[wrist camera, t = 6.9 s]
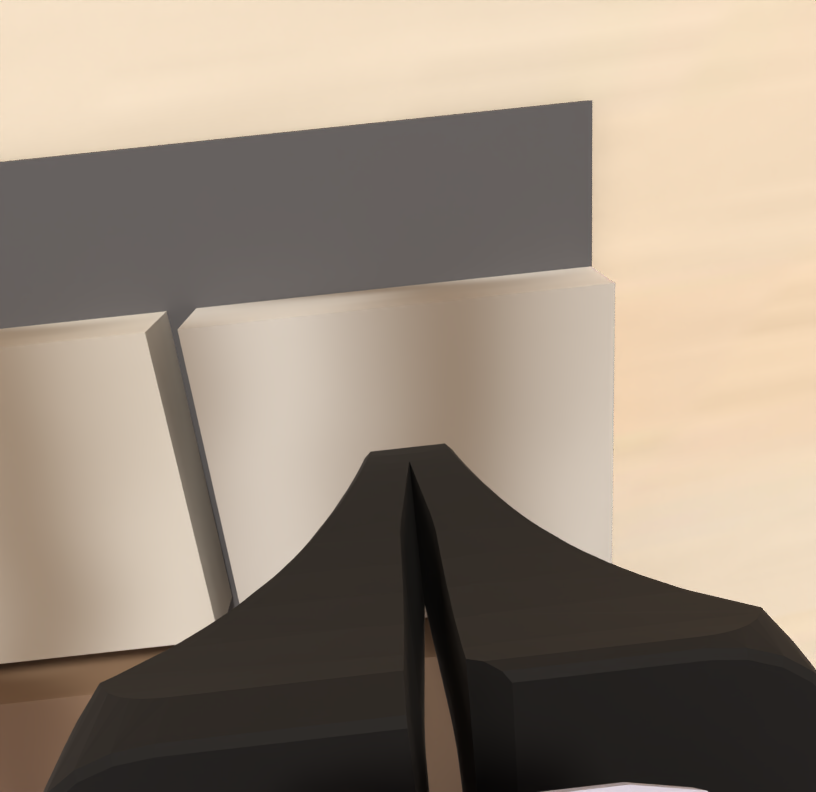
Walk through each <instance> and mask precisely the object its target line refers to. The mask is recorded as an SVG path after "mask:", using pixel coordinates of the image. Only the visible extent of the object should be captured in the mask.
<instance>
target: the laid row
mask: <svg viewBox="0 0 816 792" xmlns="http://www.w3.org/2000/svg"><path fill="white" fill-rule="evenodd" d="M173 646H175V645H168V646H159V647H150V648H141V649H131V650H122V651H113V652H104V653H95V654H86V655H77V656H67V657H58V658H49V659H40V660H31V661H22V662H13V663H3V664H0V792H43V791H44V789H45V787H46V784H47V782H48V780H49V778H50V776H51V774H52V772H53V770H54V767H55V765H56V763H57V761H58V759H59V757H60V755H61V752H62V750H63V748H64V746H65V744H66V742H67V740H68V738H69V736H70V734H71V732H72V730H73V728H74V726H75V724H76V722H77V721H78V719H79V717H80V716H81V714H82V712H83V710H84V709H85V707H86V705H87V704H88V702H89V700H90V699H91V697H92V695H93V694H94V692H95V690H96V688H97V687H98V685H99V683H101V682H103V681H105V680H107V679H110V678H112V677H114V676H116V675H118V674H120V673H122V672H124V671H126V670H128V669H130V668H132V667H134V666H136V665H138V664H140V663H142V662H144V661H146V660H148V659H150V658H152V657H154V656H156V655H158V654H160V653H162V652H164V651H166V650H168V649H169V648H171V647H173ZM425 746H426V760H427V771H428V781H429V792H462V784H461V776H460V769H459V761H458V754H457V747H456V742H455V736H454V731H453V726H452V720H451V716H450V712H449V707H448V703H447V699H446V695H445V690H444V686H443V682H442V677H441V673H440V669H439V664H438V660H437V656H436V651H435V647H434V643H433V638H432V634H431V630H430V625H429V621H428V617H426V618H425Z"/></svg>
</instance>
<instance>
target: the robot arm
mask: <svg viewBox="0 0 816 792" xmlns="http://www.w3.org/2000/svg"><path fill="white" fill-rule="evenodd" d="M425 608H426V612H427V617H428V621H429V625H430V630H431V634H432V638H433V643H434V647H435V651H436V656H437V660H438V664H439V669H440V673H441V677H442V682H443V686H444V690H445V695H446V699H447V703H448V707H449V712H450V716H451V720H452V726H453V731H454V736H455V742H456V747H457V754H458V761H459V769H460V776H461V784H462V792H816V670H815V668H814V667H813V666H812V664H811V663H810V662H809V660H808V659H807V658H806V657H805V655H804V654H803V653H802V652H801V651H800V649H799V648H798V647H797V646H796V644H795V643H794V642H793V641H792V640H791V639H790V638H789V637H788V635H787V634H786V633H785V632H784V631H783V630H782V629H781V628H780V627H779V626H778V625H777V624H776V623H775V622H774V621H773V620H772V619H771V617H770V616H769V615H768V614H767V613H766V612H765V611H764V610H763V609H762V608H761V607H757V606H753V605H749V604H744V603H740V602H736V601H732V600H727V599H723V598H719V597H715V596H710V595H706V594H702V593H698V592H693V591H689V590H686V589H682V588H679V587H676V586H673V585H669V584H666V583H663V582H660V581H657V580H654V579H651V578H648V577H645V576H642V575H639V574H637V573H634V572H631V571H629V570H626V569H623V568H621V567H618V566H616V565H613V564H611V563H609V562H607V561H604V560H602V559H600V558H598V557H596V556H593V555H591V554H589V553H587V552H584V551H582V550H580V549H578V548H576V547H574V546H572V545H570V544H569V543H567V542H565V541H563V540H561V539H560V538H558V537H556V536H555V535H553V534H551V533H549V532H548V531H546V530H544V529H543V528H541V527H539V526H538V525H536V524H535V523H533V522H532V521H530V520H529V519H527V518H526V517H524V516H523V515H522V514H520V513H519V512H517V511H516V510H515V509H513V508H512V507H511V506H510V505H508V504H507V503H506V502H505V501H504V500H502V499H501V498H500V497H499V496H498V495H497V494H496V493H494V492H493V491H492V490H491V489H490V488H489V487H488V486H487V485H486V484H484V483H483V482H482V481H481V480H480V479H479V478H478V477H477V476H476V475H475V474H474V473H473V472H472V471H471V470H470V469H469V468H468V467H467V466H466V465H465V464H464V463H463V461H462V460H461V459H460V458H459V457H458V456H457V455H456V453H455V452H454V451H453V450H452V449H451V448H450V447H449V446H448V445H446V444H445V443H443V444H434V445H425V446H416V447H407V448H398V449H389V450H380V451H371V452H370V453H369V454H368V455H367V456H366V457H365V458H364V460H363V463H362V465H361V467H360V469H359V470H358V472H357V474H356V476H355V478H354V479H353V481H352V483H351V484H350V486H349V488H348V489H347V491H346V492H345V494H344V495H343V497H342V498H341V500H340V501H339V503H338V504H337V506H336V507H335V509H334V510H333V512H332V513H331V514H330V516H329V517H328V518H327V520H326V521H325V522H324V523H323V525H322V526H321V527H320V528H319V530H318V531H317V532H316V533H315V535H314V536H313V537H312V538H311V540H310V541H309V542H308V543H307V544H306V546H305V547H304V548H303V549H302V550H301V551H300V552H299V553H298V554H297V555H296V556H295V557H294V558H293V559H292V560H291V561H290V562H289V563H288V564H287V565H286V566H285V567H284V568H283V569H282V570H281V571H280V572H279V573H277V574H276V575H275V576H274V577H273V578H272V579H270V580H269V581H268V582H267V583H265V584H264V585H263V586H261V587H260V588H259V589H258V590H256V591H255V592H254V593H253V594H251V595H250V596H249V597H248V598H246V599H245V600H244V601H243V602H241V603H240V604H239V605H237V606H236V607H235V608H233V609H232V610H231V611H229V612H228V613H226V614H225V615H223V616H222V617H220V618H219V619H217V620H216V621H214V622H213V623H211V624H210V625H208V626H206V627H205V628H203V629H202V630H200V631H198V632H197V633H195V634H193V635H192V636H190V637H188V638H187V639H185V640H183V641H182V642H180V643H178V644H176V645H175V646H173V647H171V648H169V649H168V650H166V651H164V652H162V653H160V654H158V655H156V656H154V657H152V658H150V659H148V660H146V661H144V662H142V663H140V664H138V665H136V666H134V667H132V668H130V669H128V670H126V671H124V672H122V673H120V674H118V675H116V676H114V677H112V678H110V679H107V680H105V681H103V682H101V683H99V685H98V687H97V688H96V690H95V692H94V694H93V695H92V697H91V699H90V700H89V702H88V704H87V705H86V707H85V709H84V710H83V712H82V714H81V716H80V717H79V719H78V721H77V722H76V724H75V726H74V728H73V730H72V732H71V734H70V736H69V738H68V740H67V742H66V744H65V746H64V748H63V750H62V752H61V755H60V757H59V759H58V761H57V763H56V765H55V767H54V770H53V772H52V774H51V776H50V778H49V780H48V782H47V784H46V787H45V789H44V791H43V792H429V781H428V771H427V760H426V746H425Z"/></svg>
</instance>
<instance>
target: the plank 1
mask: <svg viewBox="0 0 816 792" xmlns="http://www.w3.org/2000/svg"><path fill="white" fill-rule="evenodd" d="M231 599H232V594H231V589H230V585H229V581H228V576H227V572H226V568H225V563H224V559H223V554H222V550H221V546H220V541H219V537H218V533H217V528H216V524H215V519H214V515H213V511H212V506H211V502H210V498H209V493H208V489H207V485H206V480H205V476H204V471H203V467H202V463H201V458H200V454H199V450H198V445H197V441H196V436H195V432H194V428H193V423H192V419H191V415H190V410H189V406H188V401H187V397H186V393H185V388H184V384H183V380H182V375H181V371H180V366H179V362H178V358H177V353H176V349H175V345H174V340H173V336H172V332H171V328H170V323H169V319H168V315H167V311H164V312H155V313H145V314H136V315H127V316H117V317H108V318H98V319H89V320H79V321H70V322H61V323H51V324H42V325H32V326H23V327H14V328H4V329H0V664H3V663H13V662H22V661H31V660H40V659H49V658H58V657H67V656H77V655H86V654H95V653H104V652H113V651H122V650H131V649H141V648H150V647H159V646H168V645H176V644H178V643H180V642H182V641H183V640H185V639H187V638H188V637H190V636H192V635H193V634H195V633H197V632H198V631H200V630H202V629H203V628H205V627H206V626H208V625H210V624H211V623H213V622H214V621H216V620H217V619H219V618H220V617H222V616H223V615H225V614H226V613H228V609H229V606H230V602H231Z"/></svg>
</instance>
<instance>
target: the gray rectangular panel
mask: <svg viewBox="0 0 816 792" xmlns="http://www.w3.org/2000/svg"><path fill="white" fill-rule="evenodd" d="M589 266H592V101H578V102H569V103H559V104H550V105H540V106H531V107H521V108H511V109H502V110H492V111H483V112H473V113H464V114H454V115H445V116H435V117H425V118H416V119H406V120H397V121H387V122H378V123H368V124H358V125H349V126H339V127H330V128H320V129H311V130H301V131H292V132H282V133H272V134H263V135H253V136H244V137H234V138H225V139H215V140H205V141H196V142H186V143H177V144H167V145H158V146H148V147H139V148H129V149H119V150H110V151H100V152H91V153H81V154H72V155H62V156H52V157H43V158H33V159H24V160H14V161H5V162H0V329H4V328H14V327H23V326H32V325H42V324H51V323H61V322H70V321H79V320H89V319H98V318H108V317H117V316H127V315H136V314H145V313H155V312H164V311H167V315H168V319H169V323H170V328H171V332H172V336H173V340H174V345H175V349H176V353H177V358H178V362H179V366H180V371H181V375H182V380H183V384H184V388H185V393H186V397H187V401H188V406H189V410H190V415H191V419H192V423H193V428H194V432H195V436H196V441H197V445H198V450H199V454H200V458H201V463H202V467H203V471H204V476H205V480H206V485H207V489H208V493H209V498H210V502H211V506H212V511H213V515H214V519H215V524H216V528H217V533H218V537H219V541H220V546H221V550H222V554H223V559H224V563H225V568H226V572H227V576H228V581H229V585H230V589H231V594H232V599H231V602H230V606H229V609H228V612H229V611H231V610H232V609H233V608H235V607H236V606H237V605H239V599H238V595H237V590H236V586H235V581H234V577H233V573H232V568H231V564H230V559H229V555H228V551H227V546H226V542H225V537H224V533H223V528H222V524H221V520H220V515H219V511H218V506H217V502H216V498H215V493H214V489H213V484H212V480H211V475H210V471H209V467H208V462H207V458H206V453H205V449H204V444H203V440H202V436H201V431H200V427H199V422H198V418H197V414H196V409H195V405H194V400H193V396H192V391H191V387H190V383H189V378H188V374H187V369H186V365H185V361H184V356H183V352H182V347H181V343H180V338H179V334H178V330H177V329H178V328H179V327H180V326H181V325H182V324H183V323H184V322H185V320H186V319H187V318H188V317H189V316H190V315H191V314H192V313H193V311H194V310H195V309H196V308H203V307H212V306H222V305H231V304H241V303H250V302H259V301H269V300H278V299H288V298H297V297H307V296H316V295H325V294H335V293H344V292H354V291H363V290H373V289H382V288H391V287H401V286H410V285H420V284H429V283H438V282H448V281H457V280H467V279H476V278H486V277H495V276H504V275H514V274H523V273H533V272H542V271H551V270H561V269H570V268H580V267H589Z"/></svg>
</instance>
